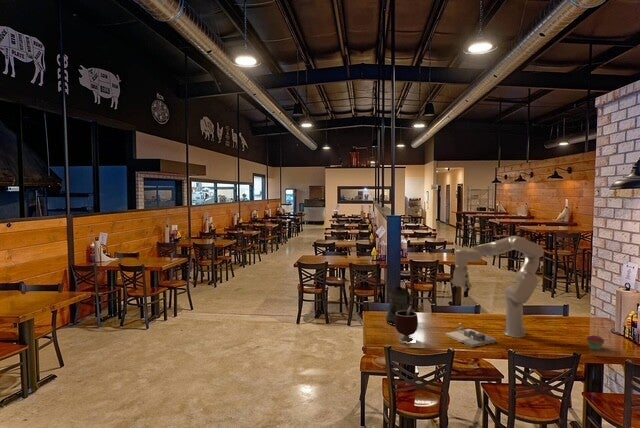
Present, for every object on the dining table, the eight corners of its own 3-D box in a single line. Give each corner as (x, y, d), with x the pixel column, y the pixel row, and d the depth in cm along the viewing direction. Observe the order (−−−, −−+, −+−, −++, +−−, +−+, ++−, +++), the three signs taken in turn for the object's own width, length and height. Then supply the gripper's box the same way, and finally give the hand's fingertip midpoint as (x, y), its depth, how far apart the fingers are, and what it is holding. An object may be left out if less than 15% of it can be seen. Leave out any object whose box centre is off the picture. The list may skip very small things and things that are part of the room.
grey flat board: (445, 336, 255) (445, 328, 255) (469, 331, 263) (469, 324, 263) (471, 347, 235) (471, 339, 235) (497, 342, 243) (497, 334, 243)
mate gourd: (413, 346, 239) (413, 312, 238) (391, 342, 246) (391, 310, 246) (421, 338, 252) (421, 306, 252) (400, 335, 259) (400, 304, 259)
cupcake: (597, 345, 236) (597, 325, 235) (608, 350, 227) (608, 329, 227) (582, 345, 235) (583, 325, 235) (593, 351, 227) (593, 330, 226)
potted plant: (382, 324, 282) (382, 289, 281) (391, 317, 299) (391, 283, 298) (406, 327, 274) (405, 291, 273) (413, 320, 291) (413, 285, 290)
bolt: (456, 330, 259) (456, 322, 259) (458, 330, 260) (458, 321, 260) (467, 335, 250) (467, 326, 249) (470, 334, 251) (470, 325, 250)
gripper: (475, 270, 251) (474, 298, 252) (455, 266, 267) (454, 292, 267) (467, 271, 248) (466, 299, 248) (446, 266, 263) (445, 292, 264)
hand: (460, 295), depth 258 cm, fingers open, 9 cm apart
